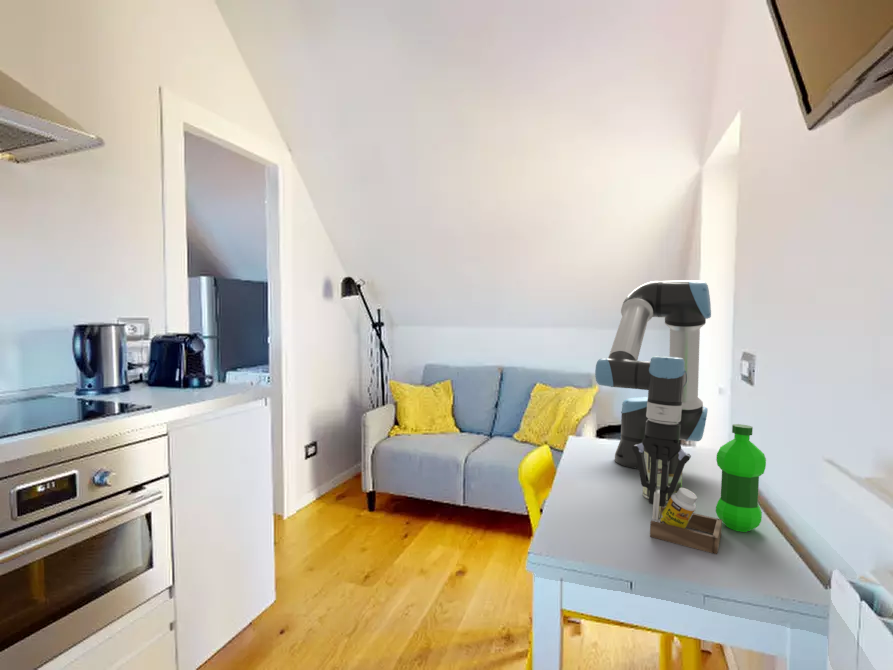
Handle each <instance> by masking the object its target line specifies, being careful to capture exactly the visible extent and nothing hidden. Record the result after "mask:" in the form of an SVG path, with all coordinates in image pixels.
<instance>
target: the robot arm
mask: <svg viewBox="0 0 893 670" xmlns="http://www.w3.org/2000/svg"><path fill="white" fill-rule="evenodd" d="M710 295H711V294H710V288H709V285H708V283H707V282H705V281H704V280H694V279H693V280H692V279H690V280H689V279H688V280H687V279H685V280H684V279H683V280H654V281H649V282H645V283H644V284H642V285H640V286H638V287H637V288H635V289H634V290H633V291H631V292H630V293H629V294H628V295H627V296H626V298H625V299H624V300H623V302H622V305H621V308H620V314H621V319H620V321H619V324H618V328H617V330H616V333H615V337H614V340H613V343H612V344H611V345H612V346H611V349H610V352H609V354H608V357H604V358H600V359H597V362H596V364H595V371H594V372H595V373H594V374H595V375H594V377H595V381H596V384H597V385H599V386H602V387H603V386H604V387H610V388H621V389H632V390H633V389H634V390H642V391H648V392H647V396H639V397H638V396H637V397H629V398H626V399H624V400H623V402H622V404H621V405H622V406H621V411H620V413H621V421H620V440H619V442H618V446H617V448H616V451H615V453H614V461H615V463H617V464H618V465H621V466H624V467H627V468H630V469H636V470H638V473H639V479H640V482H641V486H642V488H643V487H646V488H648V489H649V499H648V503H649V504H650V505H652V521H656V522H659V518H660V511H661V507H666V505H667V504H666V495H667V493H673V492H674V491H675V489H676V487H677V484H678V481H679V479H680V476H681V473H682V474H683V470H684V468H685V465H686V464H687V463H688V462H689V460H690V459H691V457H692V455H691V454H690V453H687V452H686V451H684V449H682V445H681V443H680V441H685V442H688V441H689V442H700V441H701V440H702V439H703V436H704V434H705V433H704V432H705V427H706V422H707V421H706V420H707V417H708V407H705V406H704V402H703V401H702V399H701V398H699V374H700V373H699V371H700V370H699V369H700V367H699V365H700V341H701V340H700V337H701V336H700V334H701V333H700V332H701V328H703V327H704V326H705V325H706V320H707V319H710V318H711V317H712V308H711V307H712V305H711V296H710ZM652 318H664V324H665V325H666V326H667V327H668V328H669V355H668V356H667V355H653V356H652V357H651V358H650V361H648V360H647V361H645V360H638V359H639V355H640V352H641V349H642V343H643V340H644V336H645V333H646V329H647V325H648V323H649V322H650V321H651V320H652ZM644 448H645V449H646V451H647V452H648V454H649V456H650V457H651V468H650V482H649V480H648V474H647V469H646V464H645V459H644ZM676 454H679V457H678V459H679V460H680V462H679V463H678V465H677V468H676V471H675V473H674V476H673V479H672V481H671V484H670V486H668V475H669V464H670V460H671V459H672V458H673V457H674V456H675V455H676ZM659 459H660V460H662V472H661V485H660V490H656V488H657V473H658V461H659Z"/></svg>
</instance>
